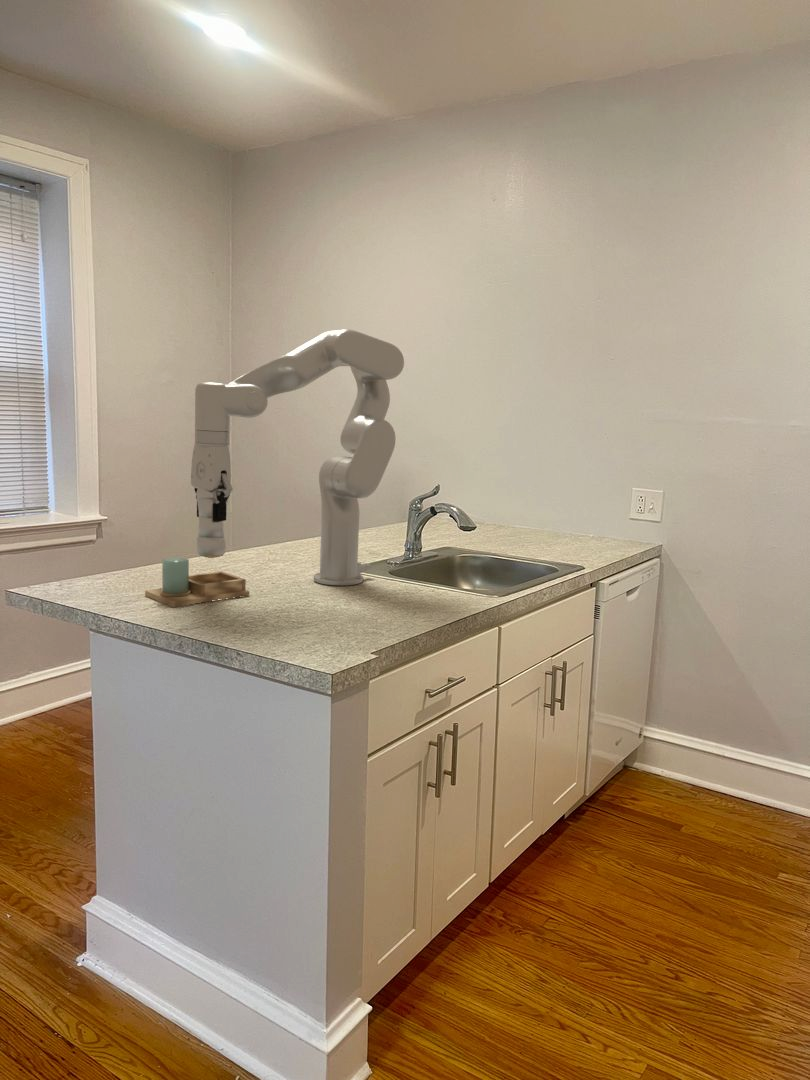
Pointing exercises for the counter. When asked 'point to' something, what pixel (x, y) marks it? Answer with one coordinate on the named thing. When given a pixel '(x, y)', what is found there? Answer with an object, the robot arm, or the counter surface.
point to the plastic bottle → (209, 527)
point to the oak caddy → (203, 589)
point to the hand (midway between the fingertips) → (211, 518)
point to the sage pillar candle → (175, 575)
